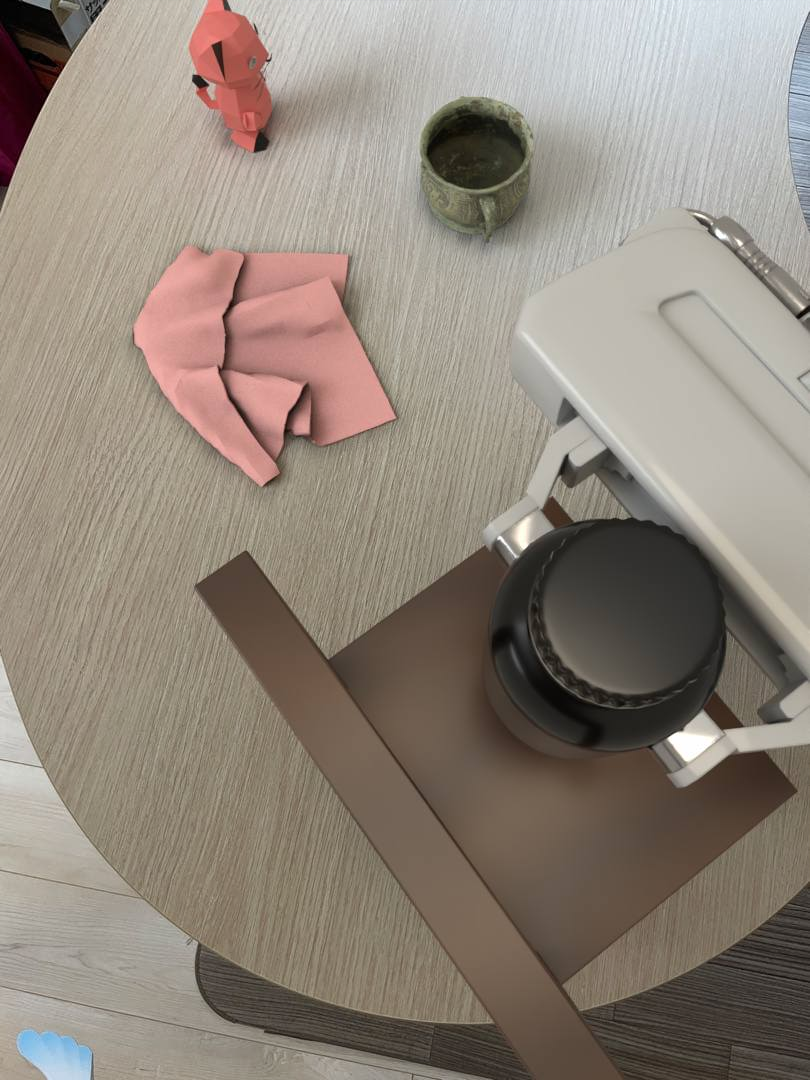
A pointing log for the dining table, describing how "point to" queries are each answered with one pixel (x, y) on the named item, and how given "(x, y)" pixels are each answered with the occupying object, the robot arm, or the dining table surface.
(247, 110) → the cat figurine
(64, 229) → the dining table surface
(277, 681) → the shelf
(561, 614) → the supplement bottle
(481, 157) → the vessel
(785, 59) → the dining table surface
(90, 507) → the dining table surface
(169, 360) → the cloth
